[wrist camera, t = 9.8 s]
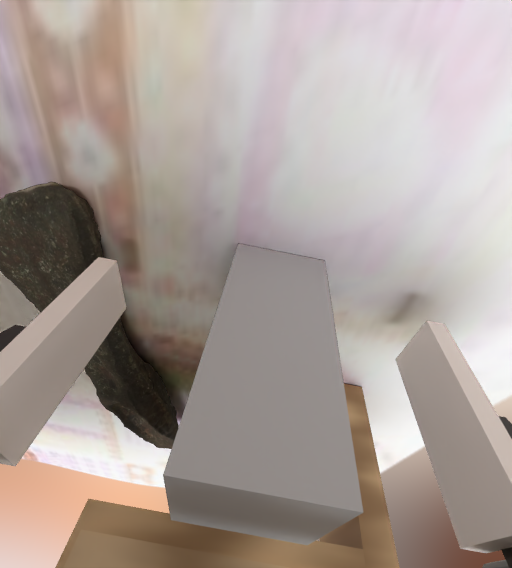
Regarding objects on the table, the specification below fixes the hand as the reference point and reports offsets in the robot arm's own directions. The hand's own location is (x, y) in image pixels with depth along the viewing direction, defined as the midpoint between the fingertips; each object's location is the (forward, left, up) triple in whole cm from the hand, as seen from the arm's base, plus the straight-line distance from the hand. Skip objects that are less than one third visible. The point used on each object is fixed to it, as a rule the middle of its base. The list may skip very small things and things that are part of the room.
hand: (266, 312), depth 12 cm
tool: (-10, -8, -3) cm, 13 cm away
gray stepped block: (0, -7, -2) cm, 7 cm away
